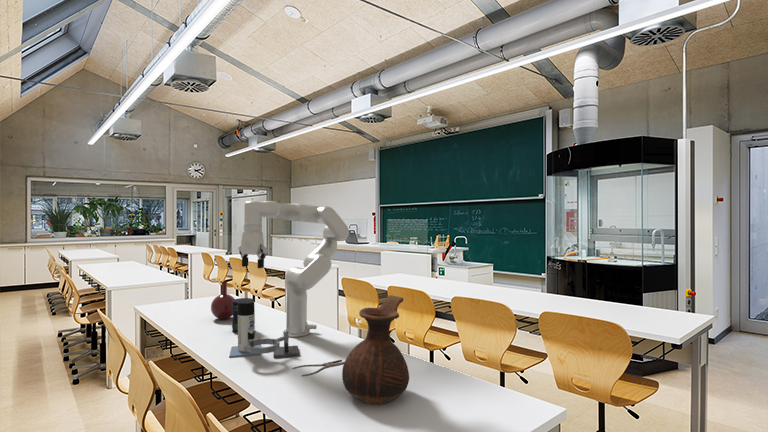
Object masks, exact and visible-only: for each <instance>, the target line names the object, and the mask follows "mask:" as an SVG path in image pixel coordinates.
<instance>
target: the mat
mask: <svg viewBox="0 0 768 432" xmlns="http://www.w3.org/2000/svg"><path fill="white" fill-rule="evenodd" d="M255 347H259V348H261V347H262V345H256V346H255ZM261 355H262V354H255V353H250V352H240V351H238V345H236V346H235V345H233V346H231V348H230V351H229V357H228V358H239V357H252V356H261Z"/></svg>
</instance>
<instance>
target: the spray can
mask: <svg viewBox="0 0 768 432" xmlns="http://www.w3.org/2000/svg"><path fill="white" fill-rule="evenodd" d="M255 310H256V309H255V301H254V300H253V301H246V300H245V301H240V302H238V334H237V346H238V351H240V352H248V351H247V343H248V342H250V341H252V340H256V338H255V337H256V332H255V331H256V330H255V329H256V328H255V327H256V326H255V323H256V322H255V320H256V319H255V316H256V315H255V312H256V311H255ZM253 347H255V346H253Z"/></svg>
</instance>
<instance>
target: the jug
mask: <svg viewBox="0 0 768 432" xmlns="http://www.w3.org/2000/svg"><path fill="white" fill-rule="evenodd" d="M403 302H404V297H402V296H398V295H393V294H389V295H388V296H387V297H386V299H385V300H384V301H383V302H382V304H381V305H380V306H379V307H365V308H362V309H360V310H359V311H358V312H359V313H358V314H359V316H360V318H363V319H364V320H365V321H366V323H367V327H368V328H367V333H366V337H365V339H363V340H361V341H360V342H359V343H358V344H356V346H354V347H353V349H352V350H351V351H350V352H349V353H348V355H347V357H345V360H344V361H343V362H344V364H342V365H343V366H342V374H341V376H342V377H341V378H342V379H341V380H342V384H343V386H344V388H345V389H346V391H347V392H348V393H349V394H351V395H352V396H354V397H356V398H357V399H358V400H360V401H363V402H364V403H369V404H373V405H380V404H381V405H382V404H386V403H390V402H391V401H393V400H395V399H396V398H397V397H399V396H401V395H402V394H403V393H404V392H406V390H407V388H408V385H409V382H410V372H409V368H408V364H407V361H406V359H405V358H404V355H403V354H402V353H403V352H401V350H400V349H399V348H398V347H397V345H396V344H395V343H393V341H392V339H391V334H390V329H391V328H390V327H391V324H392V322H393V320H397V319H399V317H400V314H399V312H398V307H399V306H400V304H401V303H403Z"/></svg>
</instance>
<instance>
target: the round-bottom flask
mask: <svg viewBox="0 0 768 432" xmlns="http://www.w3.org/2000/svg"><path fill="white" fill-rule="evenodd" d="M220 283H221V294H219V295H218V296H215V297H214V299H213V300H212V301H211V303H210V312H211V313H212V315H213V316H214V317H215V318H217V319H220V320H226V319H229V318H232V317H233V312H232V306H233V305H232V304H233V302H232V301H233V300H234V299H235V298H234V297H233V296H232V295H230V294H228V290H227V289H228V281H225V280H224V281H221V282H220Z"/></svg>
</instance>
